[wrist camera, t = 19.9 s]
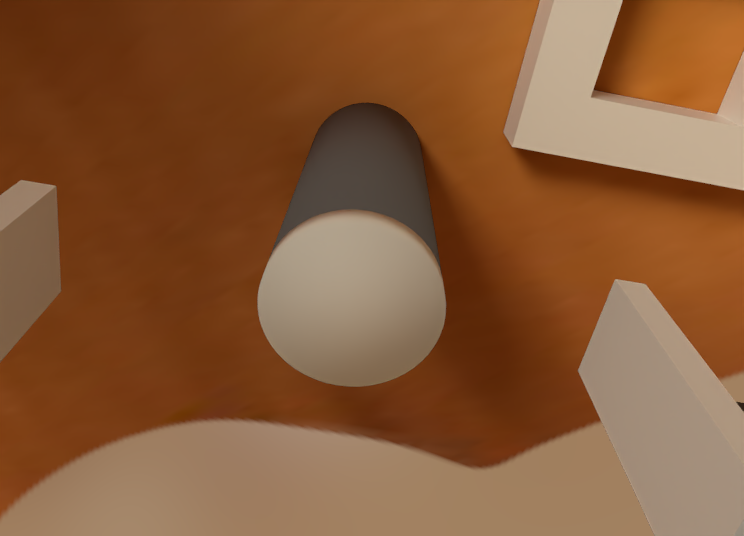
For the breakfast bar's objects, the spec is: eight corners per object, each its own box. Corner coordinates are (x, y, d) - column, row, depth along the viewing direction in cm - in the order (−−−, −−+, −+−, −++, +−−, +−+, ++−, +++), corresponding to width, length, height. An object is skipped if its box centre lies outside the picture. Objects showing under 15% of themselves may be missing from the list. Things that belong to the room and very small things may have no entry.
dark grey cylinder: (304, 199, 27) (248, 371, 16) (320, 93, 25) (268, 206, 14) (409, 218, 27) (423, 399, 16) (432, 114, 25) (466, 241, 14)
